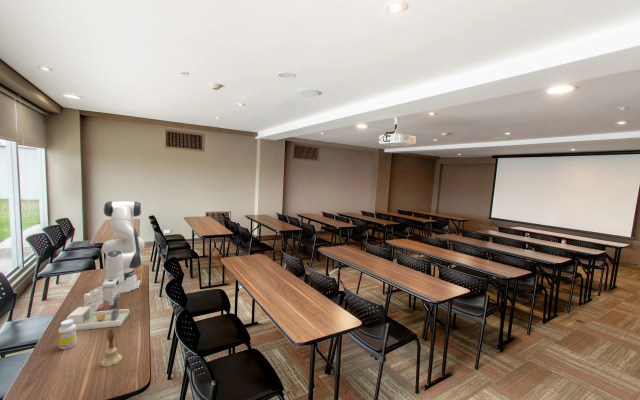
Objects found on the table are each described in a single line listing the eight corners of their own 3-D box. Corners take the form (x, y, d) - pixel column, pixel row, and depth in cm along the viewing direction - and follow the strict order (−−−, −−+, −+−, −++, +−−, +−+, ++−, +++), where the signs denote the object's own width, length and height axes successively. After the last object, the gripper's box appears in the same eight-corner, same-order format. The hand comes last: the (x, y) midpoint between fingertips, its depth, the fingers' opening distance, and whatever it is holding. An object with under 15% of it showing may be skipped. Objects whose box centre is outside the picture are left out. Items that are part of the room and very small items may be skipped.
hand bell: (97, 368, 124) (97, 335, 123) (103, 357, 132) (103, 325, 131) (119, 364, 128) (119, 332, 126) (124, 353, 135) (124, 323, 134)
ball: (98, 318, 163) (98, 312, 162) (106, 317, 164) (106, 311, 164) (95, 322, 159) (95, 315, 159) (103, 321, 160) (103, 314, 160)
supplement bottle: (62, 342, 141) (61, 319, 140) (78, 340, 143) (78, 317, 142) (56, 350, 135) (55, 326, 133) (73, 348, 137) (72, 323, 136)
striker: (113, 316, 166) (113, 299, 165) (119, 315, 167) (119, 299, 166) (110, 320, 161) (110, 303, 160) (116, 320, 162) (116, 302, 161)
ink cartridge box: (97, 306, 179) (97, 284, 178) (103, 307, 178) (103, 285, 177) (83, 312, 171) (83, 289, 169) (90, 313, 170) (90, 290, 169)
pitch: (78, 317, 164) (78, 305, 164) (129, 313, 172) (128, 301, 172) (64, 331, 150) (64, 318, 149) (120, 325, 158) (119, 313, 158)
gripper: (115, 273, 170) (115, 294, 171) (100, 285, 151) (101, 309, 152) (127, 272, 172) (127, 293, 173) (114, 284, 153) (114, 308, 154)
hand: (114, 301), depth 163 cm, fingers open, 8 cm apart
